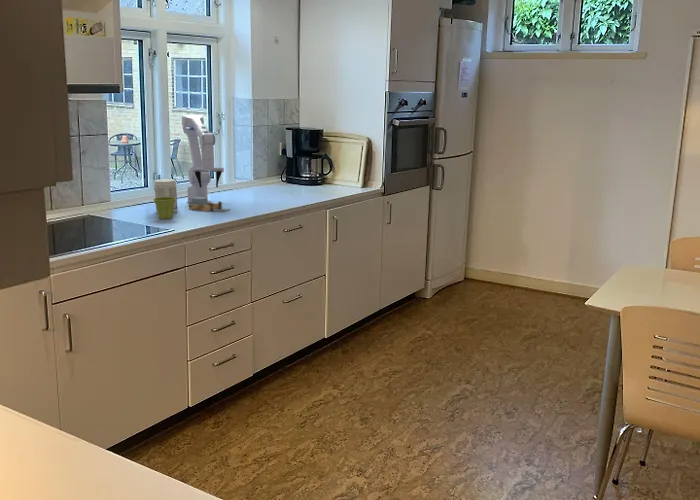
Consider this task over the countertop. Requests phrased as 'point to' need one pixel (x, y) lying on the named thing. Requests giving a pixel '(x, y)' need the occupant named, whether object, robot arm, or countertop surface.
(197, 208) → the chute
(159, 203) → the plant pot
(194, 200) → the block
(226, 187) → the countertop surface
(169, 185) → the supplement tub
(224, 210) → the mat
